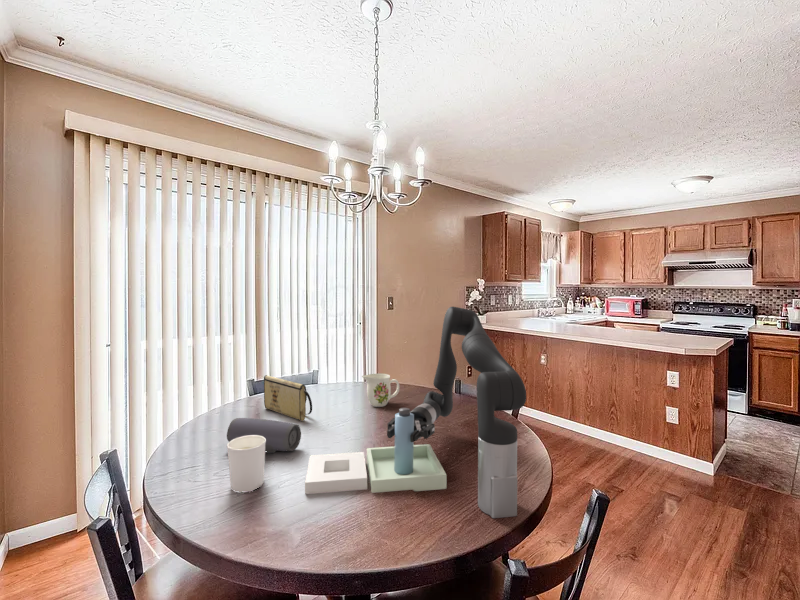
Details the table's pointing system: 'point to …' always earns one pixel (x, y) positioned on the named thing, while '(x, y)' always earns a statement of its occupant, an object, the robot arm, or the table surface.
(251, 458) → the candle holder
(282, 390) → the clutch purse
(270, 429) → the bluetooth speaker
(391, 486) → the tray
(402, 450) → the bottle
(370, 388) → the pitcher
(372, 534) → the table surface
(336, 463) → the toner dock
